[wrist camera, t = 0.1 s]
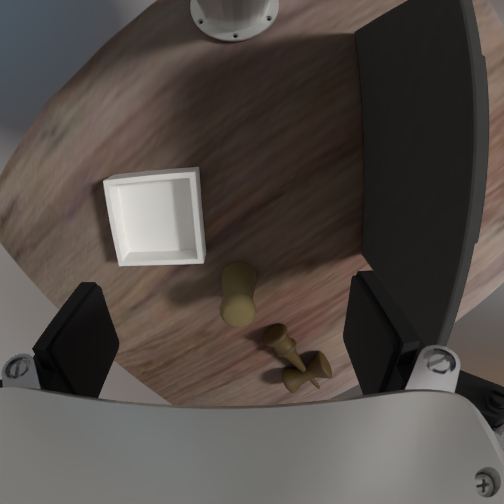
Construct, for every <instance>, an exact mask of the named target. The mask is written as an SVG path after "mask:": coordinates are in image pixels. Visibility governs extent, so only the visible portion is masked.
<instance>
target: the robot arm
mask: <svg viewBox="0 0 504 504" xmlns="http://www.w3.org/2000/svg"><path fill="white" fill-rule="evenodd" d="M278 9H279V0H191V3H190V11H191V15H192V18H193V20H194V22H195V24H196V25H197V26H198V28H199V29H200V30H201V31H203V32H204V33H205V34H206V35H208V36H210V37H212V38H215V39H218V40H221V41H228V42H238V41H245V40H248V39H252V38H254V37H256V36H258V35H260V34H262V33H263V32H265V31H266V30H267V29H268V28H269V27H270V26H271V25H272V24H273V22H274V20H275V19H276V16H277V14H278ZM267 19H270V21H268V20H267ZM200 22H203V23H202V24H200ZM235 35H236V36H237V38H234V36H235ZM343 340H344V343H345V346H346V349H347V351H348V354H349V357H350V359H351V362H352V365H353V368H354V370H355V373H356V376H357V379H358V381H359V384H360V387H361V390H362V393H363V395H361V396H354V397H347V398H339V399H331V400H322V401H312V402H302V403H290V404H276V405H257V406H180V405H161V404H146V403H134V402H124V401H116V400H107V399H99V398H98V397H99V394H100V392H101V389H102V387H103V384H104V382H105V380H106V377H107V374H108V372H109V370H110V367H111V365H112V363H113V360H114V358H115V356H116V353H117V351H118V349H119V339H118V337H117V334H116V331H115V328H114V325H113V323H112V320H111V317H110V314H109V311H108V308H107V305H106V302H105V298H104V295H103V292H102V289H101V287H100V286H98V285H97V284H96V283H95V282H82V283H80V284H79V286H78V287H77V288H76V289H75V291H74V292H73V293H72V295H71V296H70V297H69V298H68V300H67V301H66V302H65V304H64V305H63V306H62V308H61V309H60V310H59V312H58V313H57V314H56V316H55V317H54V318H53V320H52V321H51V323H50V324H49V325H48V327H47V328H46V330H45V331H44V332H43V334H42V335H41V337H40V338H39V339H38V341H37V342H36V344H35V345H34V347H33V348H32V349H33V351H34V353H35V355H34V357H32V356H30V355H29V354H18V355H15V356H14V357H12V358H10V359H9V360H8V361H7V362H6V363H5V365H4V367H3V369H2V380H0V504H504V387H502V386H500V385H498V384H495V383H492V382H490V381H487V380H484V379H482V378H479V377H477V376H474V375H471V374H469V373H466V372H464V371H461V370H460V360H459V358H458V356H457V355H456V354H455V353H454V352H453V351H452V350H450V349H449V348H446V347H444V346H440V345H431V346H427V347H426V346H425V345H424V343H423V341H422V340H421V338H420V337H419V335H418V334H417V332H416V331H415V329H414V327H413V326H412V324H411V323H410V321H409V320H408V318H407V317H406V315H405V314H404V312H403V311H402V309H401V308H400V306H399V305H398V304H397V303H396V302H395V301H394V299H393V298H392V296H391V295H390V294H389V292H388V291H387V289H386V288H385V286H384V285H383V284H382V282H381V281H380V279H379V278H378V276H377V275H376V274H375V272H374V271H372V270H370V271H358V272H357V274H356V275H355V276H352V279H351V286H350V294H349V301H348V307H347V314H346V320H345V326H344V332H343Z"/></svg>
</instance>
